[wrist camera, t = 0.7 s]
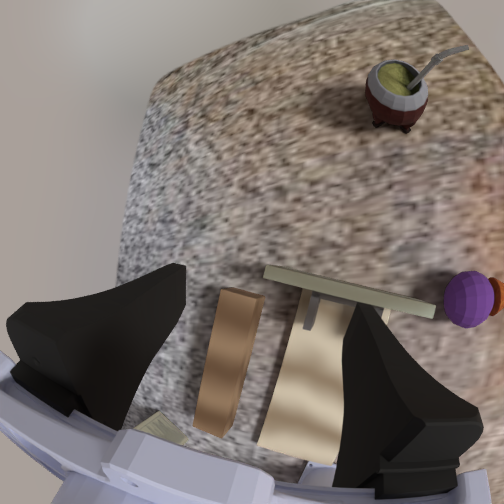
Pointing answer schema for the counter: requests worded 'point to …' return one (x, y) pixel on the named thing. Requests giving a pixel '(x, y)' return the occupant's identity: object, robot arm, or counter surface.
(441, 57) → the mate gourd
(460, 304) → the kendama
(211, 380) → the rail
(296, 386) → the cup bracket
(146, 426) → the skincare box
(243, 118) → the counter surface
